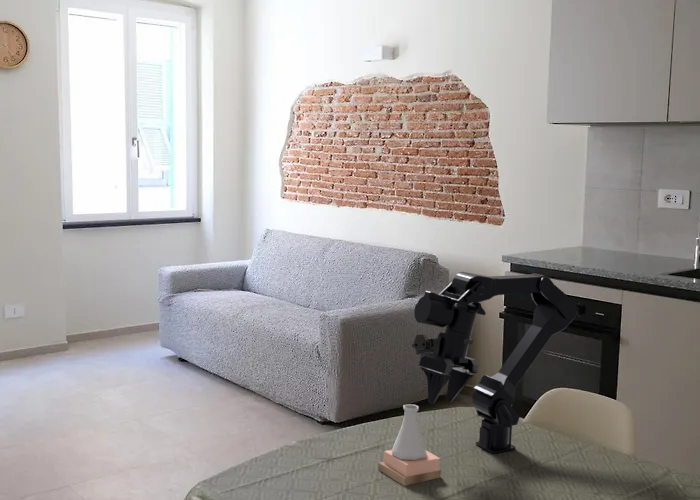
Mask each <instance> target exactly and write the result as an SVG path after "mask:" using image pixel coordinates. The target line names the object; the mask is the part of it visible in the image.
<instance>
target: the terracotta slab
mask: <svg viewBox="0 0 700 500" xmlns="http://www.w3.org/2000/svg"><path fill="white" fill-rule="evenodd" d="M383 454H384V455H383V458H384V459H383V461H384V463H385V464H387V465H388V466H390V467H391V468H393V469H394V470H396V471H397V472H399V473H400V474H402V475H403V476H405V477H409V476H414V475H419V474H423V473H428V472H433V471H438V470H439V469H440V462H441V461H440V460H441V458H440V457H438V456H436V455H435V454H433V453H431V452H429V451H428V450H426V456H427V457H426V458H422V459H418V460H404V459H399V458H397V457H396V456H394V455H392V449H388V450H384V452H383Z"/></svg>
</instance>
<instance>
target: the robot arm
mask: <svg viewBox="0 0 700 500" xmlns="http://www.w3.org/2000/svg"><path fill="white" fill-rule="evenodd" d="M523 294H530V296H531V299H532V301H533V303H534V304H535V305H536V307H535V309H534V311H533V321H532V324H531V325H530V327H529V328H528V330H527V331H526V332H525V334H524V335H523V337H522V338H521V340H520V341H519V342H518V344H517V345H516V346H515V348H514V349H513V351H512V352H511V354H510V355H509V356H508V358H507V359H506V361H505V362H504V363H503V365H502V366H501V367H500V369H499V370H498V372H497V373H496V374H494V375H492V376H489V375H487V374H484V375H483V376H482V377H481V378H480V381H479V382H478V384H477V385H475V386H474V387H473V390H474V391H473V392H472V394H471V399H472V400H471V401H472V407H474V409H475V411H476V416H477V417H481V418H483V419H481V424H480V428H479V441H475V445H476V446H478V447H480V448H482V449H484V450H486V451H488V452H490V453H492V454H499V453H504V452H509V451H512V450H516V448H517V447H516V446H515V445H514V444H512V435H513V433H512V432H513V426H517V425H518V423H519V420H520V417H521V416H520V414H519V413H518V412H517V410H515V408H514V407H513V404H514V402H515V399H516V390H517V386H518V384H519V383H520V381H522V379H523V377H524V376H525V374H526V373H527V372H528V371H529V368H531V366H532V365H533V363H534V361H535V360H536V359H537V358H538V356H539V355H540V354H541V351H543V349H544V347H545V346H546V345H547V343H548V342H549V341H550V339H551V338H552V337H553V336H554V335H556V334H557V333H559V332H561V331H563V330H565V329H566V328H567V327H568V326H569V325H570V324H571V323H572V321H574V319H576V317H577V314H578V311H577V305H576V302H575V301H574V300H573V299H572V298H569V296H568V295H567V294H566V293H565V292H564V291H562V289H560V288H559V287H558V286H557V285H556V284H555V283H553V281H552V280H551V278H550V277H548V276H547V275H544V274H540V273H534V272H533V273H531V274H516V275H515V274H513V275H511V274H510V275H494V276H493V275H492V276H491V275H489V276H488V275H484V274H479V273H478V274H477V273H474V272H473V273H472V272H469V271H468V272H466V271H460V272H458V273H456V274H455V276H454V277H453V279H452V280H451V282H449V284H447V286H446V287H445V288H443V290H442V291H441V292H440V293H439V294H438V293H436V292H432V291H429V290H425V291H424V294H423V295H422V297H420V298H419V300H418V301H417V303H416V304H415V306H414V310H413V312H414V319H415V321H416V322H417V323H418V324H423V325H428V326H433V327H437V328H441V329H442V328H444V330H443V331H440V332H439V333H438V335H437V337H436V338H428V337H427V334H415V335H416V336H415V338H414V339H413V342H412V345H411V347H412V348H414V351H415V352H414V353H415V356H418V355H419V359H418V361H417V362H418V363H417V365H418V366H419V367H420V370H421V371H423V373H424V374H425V377H426V380H427V382H426V383H427V400H428V403H429V404H431V405H433V404H435V402H436V401H437V399H438V398H439V396H440V394H441V393H442V391H443V390H444V388H445V387H446V384H447V383H448V384H447V390H446V399H445V400H446V402H448V403H452V402H453V401H454V399H455V398H456V397H457V396H458V395H459V393H460V392H461V391H462V390H463V388H464V387H465V386H466V385H467V383H468V382H469V381H470V380H471V379H472V378H473V377H474V376H475V374H477V373H478V370H479V366H480V364H479V362H478V360H477V359H475V358H472V357H469V356H467V354H468V349H469V345H473V342H474V339H471V338H472V334H473V329H474V326H475V323H476V322H475V321H476V318H477V315H481V316H486V314H487V313H486V311H485V309H484V308H483V307H482V304H481V303H482V302H485V301H488V300H491V299H493V298H494V297H496V296H506V295H523Z"/></svg>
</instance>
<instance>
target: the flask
mask: <svg viewBox="0 0 700 500" xmlns="http://www.w3.org/2000/svg"><path fill="white" fill-rule="evenodd" d="M419 407H420V406H419V405H416V404H410V403H409V404H403V406H402V409H403V410H404V416H403V419H402V424H401V427H400V429H399V432H398V434H397V436H396V438H395V442H394V444H393V446H392V448H391V450H392V455H394V456H396V457H397V458H399V459H404V460H418V459H422V458H426V457H427V456H426V451H427V449H426V447H425V444H424V441H423V438H422V434H421V431H420V427H419V424H418V423H419V422H418V412H419V410H420V409H419Z"/></svg>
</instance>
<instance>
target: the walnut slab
mask: <svg viewBox="0 0 700 500" xmlns="http://www.w3.org/2000/svg"><path fill="white" fill-rule="evenodd" d="M377 469H378V471H379V472H381V473H382V472H383V474H384V475H385V474H386V476H388V477H389V478H390V477H391V479H392V480H394V481H395V482H397V483H398V482H399V484H400V485H401V486H403V487H407V486H409V485H410V484H411V485H414V484H415V485H416V484H418V483H422V482H426V481H427V482H428V481H430V480H434V479H439V478H441V477H442V476H441V475H442V474H441V472H442V469H440V468H439V470H438V471H433V472H428V473H423V474H419V475H414V476H409V477H405V476H403V475H402V474H400V473H399V472H397V471H396V470H394V469H393V468H391V467H390V466H388V465H387V464H385V463H384V460H383V461H379V462H378V467H377Z"/></svg>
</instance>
